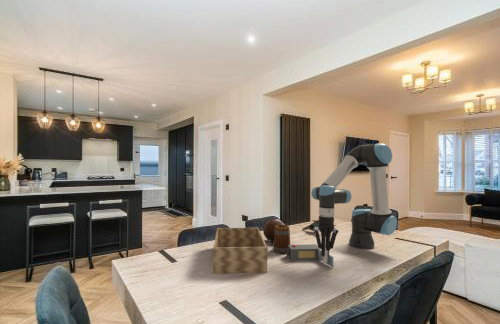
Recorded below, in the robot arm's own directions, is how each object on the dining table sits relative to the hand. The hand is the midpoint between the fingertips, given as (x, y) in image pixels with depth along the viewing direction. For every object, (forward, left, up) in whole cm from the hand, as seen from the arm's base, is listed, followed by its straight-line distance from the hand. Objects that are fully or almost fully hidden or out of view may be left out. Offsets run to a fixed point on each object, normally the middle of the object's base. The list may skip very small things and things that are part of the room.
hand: (324, 262), depth 133 cm
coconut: (+18, -44, -2) cm, 48 cm away
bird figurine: (-16, -66, -2) cm, 68 cm away
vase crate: (+43, -14, -2) cm, 46 cm away
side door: (-1, -3, -2) cm, 4 cm away
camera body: (+7, -13, -2) cm, 15 cm away
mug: (+16, -27, -2) cm, 32 cm away
